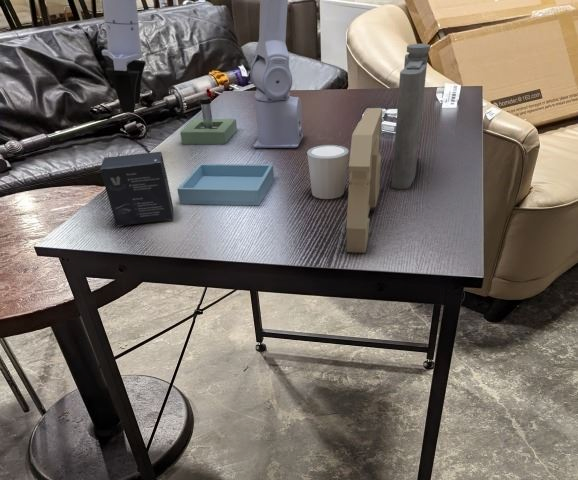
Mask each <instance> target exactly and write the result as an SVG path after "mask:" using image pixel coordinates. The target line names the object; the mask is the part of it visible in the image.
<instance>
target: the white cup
mask: <svg viewBox="0 0 578 480" xmlns="http://www.w3.org/2000/svg"><path fill="white" fill-rule="evenodd" d="M349 154H350V151H349V149H348V148H347V147H346V146H344V145H337V144H322V145H316V146H314V147H311V148H310V149H308V150H307V152H306V155H307V164H308V172H309V180H310V181H309V182H310V189H311V194H312V196H313V197H314V198H316V199H320V200H332V199H333V200H334V199H337V198H341V197H342V196H343V195H344V194H345V188H346V179H347V171H348V163H349V161H348V160H349Z"/></svg>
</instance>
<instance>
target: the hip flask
mask: <svg viewBox="0 0 578 480" xmlns="http://www.w3.org/2000/svg"><path fill="white" fill-rule="evenodd" d="M429 52H431V45H430V44H428V43H412V44H408V45H407V46H406V53H407V54H405V55H404V63H403V64H404V65H403V66H404V67H403V69H401V71H399V72H400V73H399V82H398V95H397V96H398V97H397V109H396V122H395V135H394V148H393V162H392V174H391V176H392V177H391V187H392V188H393V189H396V190H406V189H409V188H410V187H411V186H412V184H413V183H414V181H415V179H416V178H415V177H416V173H417V163H418V154H419V143H420V135H421V126H422V125H421V124H422V118H423V117H422V116H423V106H424V97H425V88H426V80H427V79H426V78H427V68H428V60H429V59H428V58H429V54H428V53H429Z"/></svg>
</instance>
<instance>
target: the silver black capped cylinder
mask: <svg viewBox="0 0 578 480" xmlns="http://www.w3.org/2000/svg"><path fill="white" fill-rule="evenodd" d="M198 103H199V105H200V107H201V113H202V119H203V121H204V127H200V129H217V128H218V127H214V126H213V120H212V119H213V114H212V107H211V104H212V97H211V96H201V97H199V98H198Z"/></svg>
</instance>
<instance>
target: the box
mask: <svg viewBox="0 0 578 480" xmlns="http://www.w3.org/2000/svg"><path fill="white" fill-rule="evenodd" d="M166 171H167V170H166V166H165V161H164V157H163V152H162V151H154V152H153V151H152V152H144V153H136V154H135V153H134V154H125V155H117V156H109V157H107V156H106V157H104V158H103V160H102V163H101V165H100V168H99V172H100V175H101V177H102V182H103V185H104V188H105V191H106V194H107V197H108V201H109V205H110V209H111V212H112V215H113V219H114V223H115V225H116V227H117V228H120V227H124V226H130V225H137V224H145V223H155V222H162V221H168V222H169V221H173V220H174V205H173V200H172V195H171V189H170V185H169V180H168V174H167V172H166Z"/></svg>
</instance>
